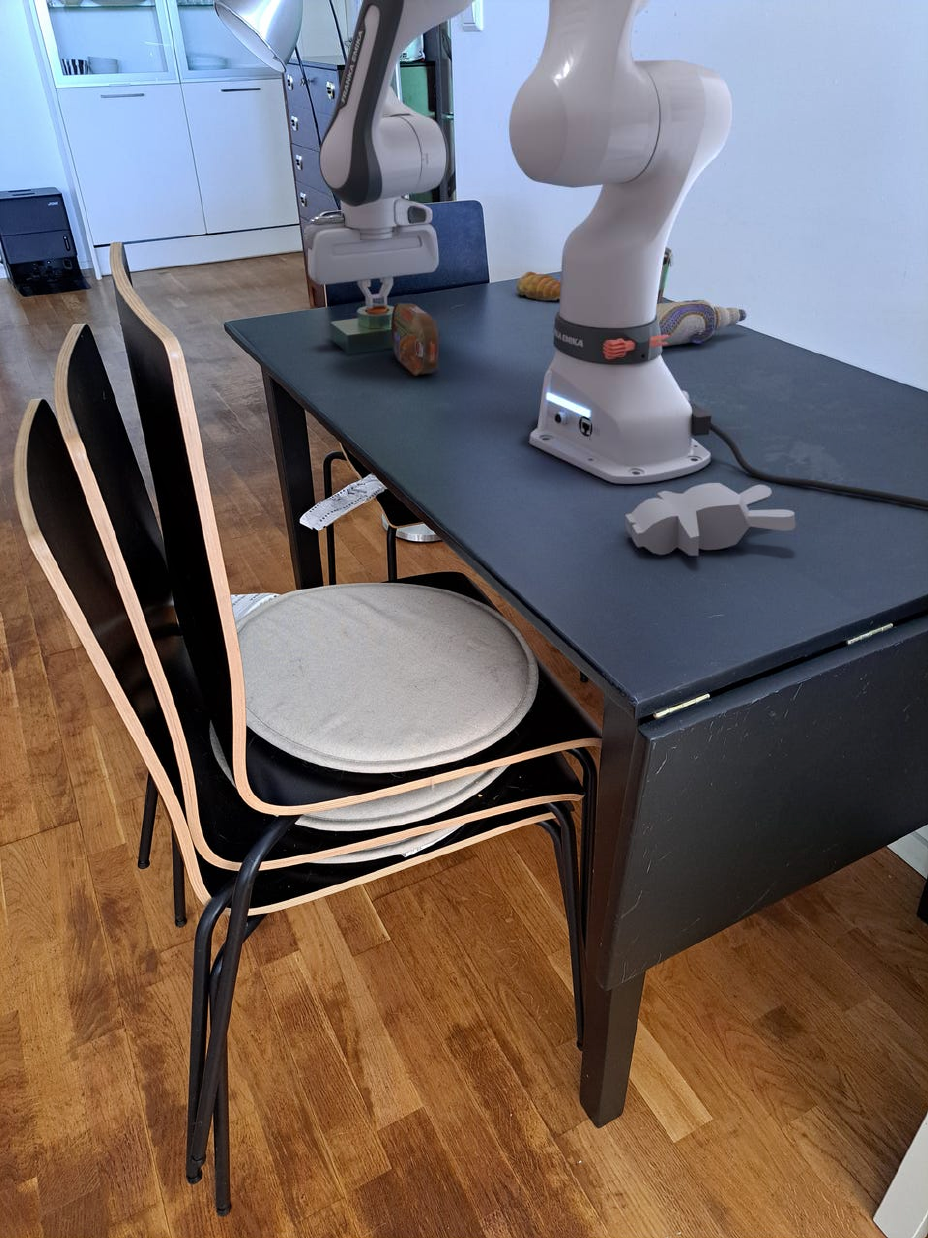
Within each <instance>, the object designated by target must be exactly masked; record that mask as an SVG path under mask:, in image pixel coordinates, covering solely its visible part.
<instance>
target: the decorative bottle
mask: <svg viewBox="0 0 928 1238" xmlns="http://www.w3.org/2000/svg"><path fill="white" fill-rule="evenodd" d="M656 315H657V317H658V319H659V326H660V329H661V335H666V334H668V335H669V337H667V338H665V339H663V340H661V342H667V343H668V344H667V345H662V348H664V347H669V346H679V345H684V344H685V345H686V344H691V343H694V344H699V345H700V344H702V343H703V342H704V341H707V340H708V339H709V338H711V337H712V336H713V334H714V333H715V331H716V332H717V331H719V330H722V329H724V328H726V327H733V326H736V325H737V324H738V323H739V322H742V321H745V320H746V318H747V311H745V310H744V309H742V308H737V307H724V306H723V307H722V306H713V304H712V303H710V302H709V301H707V300H705V299H693V300H683V301H671V302H661V304H657V307H656Z"/></svg>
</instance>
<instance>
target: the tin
mask: <svg viewBox="0 0 928 1238" xmlns="http://www.w3.org/2000/svg"><path fill="white" fill-rule="evenodd" d="M393 307H394V309H393V313H392V319H391V335H392V343H393V348H392V349H393V352H394V355H395V357H396V359H397V361H398V362H399V363H400V364H401V365H403V366H404V367H405V368H406V369H407V370H408V371H409V372H410V373H411V374H412V375H413V376H415V377H416V376H420V375H422V376H423V375H430V374H433V373H434V372H435V371H436V370H437V368H438V364H439V342H440V340H439V339H440V336H439V330H438V325H437V323H436V321H435V319H434V318H433V317H432V316H431V314H429V313H428V312H426V311H425V310H424V309H422V308H420V307H419V306H418V305H417V304H415V303H411V302H409V303H400V302H397V303H395V305H394V306H393Z"/></svg>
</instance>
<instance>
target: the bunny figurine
mask: <svg viewBox="0 0 928 1238" xmlns="http://www.w3.org/2000/svg"><path fill="white" fill-rule="evenodd" d="M772 492H773V491H772V488H771V487H769V486H767V485H765V484H756V485H753V486H751V487H749V488H747V489H746V490H743V491H742V492H739V493H738V492H735V491H734V490H732V489H730V487H727V486H725V484H722V483H721V482H709V483H702V484H698V485H695V486H692V487H690V488H688V489H686V490H685V491H684V492H683V493H678V492H672V491H669V490H663V491H660V492H657V496H656V497H652V498H647V499H645V500H644V501H642V502H641V503H640V504H638V505H637V507H635V508H634V510H633V511H632V512H631V513H627V514H625V516H624V518H625V519H624V521H625V523H624V524H625V525H624V526H625V530H626V532H627V533H628V535H629V536H630V537H632V541H633V543H634V545H635V546H636V547H637V548H642V547H644V548H645V549H646V550H648V551H649V552H651V553H652V554H655V555H659V556H663V555H668V554H671V552H673V551H674V550H676V549H677V548H678V549H679V550H681V551H682V552H684V553H685V554H687V555H688V556H690V557H692V556H693V557H695V556H696V557H697V556H698V557H699V554H700V553H699V549H700V550H704V551H713V550H715V551H717V550H721V549H725V548H729V547H732V546H735V545H737V544H738V542H739V541H740V540H741V539H742V538H743V536H744V535H745V533H746V532H747V531H748V530H749V529H750V527H751V528H758V529H766V530H775V531H783V532H787V531H792V530H794V529H795V528H796V516H795V512H794V511H793V510H789V509H782V508H781V509H779V508H778V509H749V507H751V506H753V505H756V504H759V503H761V502H765V501H767V500H769V499H770V498H771V495H772Z"/></svg>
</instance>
